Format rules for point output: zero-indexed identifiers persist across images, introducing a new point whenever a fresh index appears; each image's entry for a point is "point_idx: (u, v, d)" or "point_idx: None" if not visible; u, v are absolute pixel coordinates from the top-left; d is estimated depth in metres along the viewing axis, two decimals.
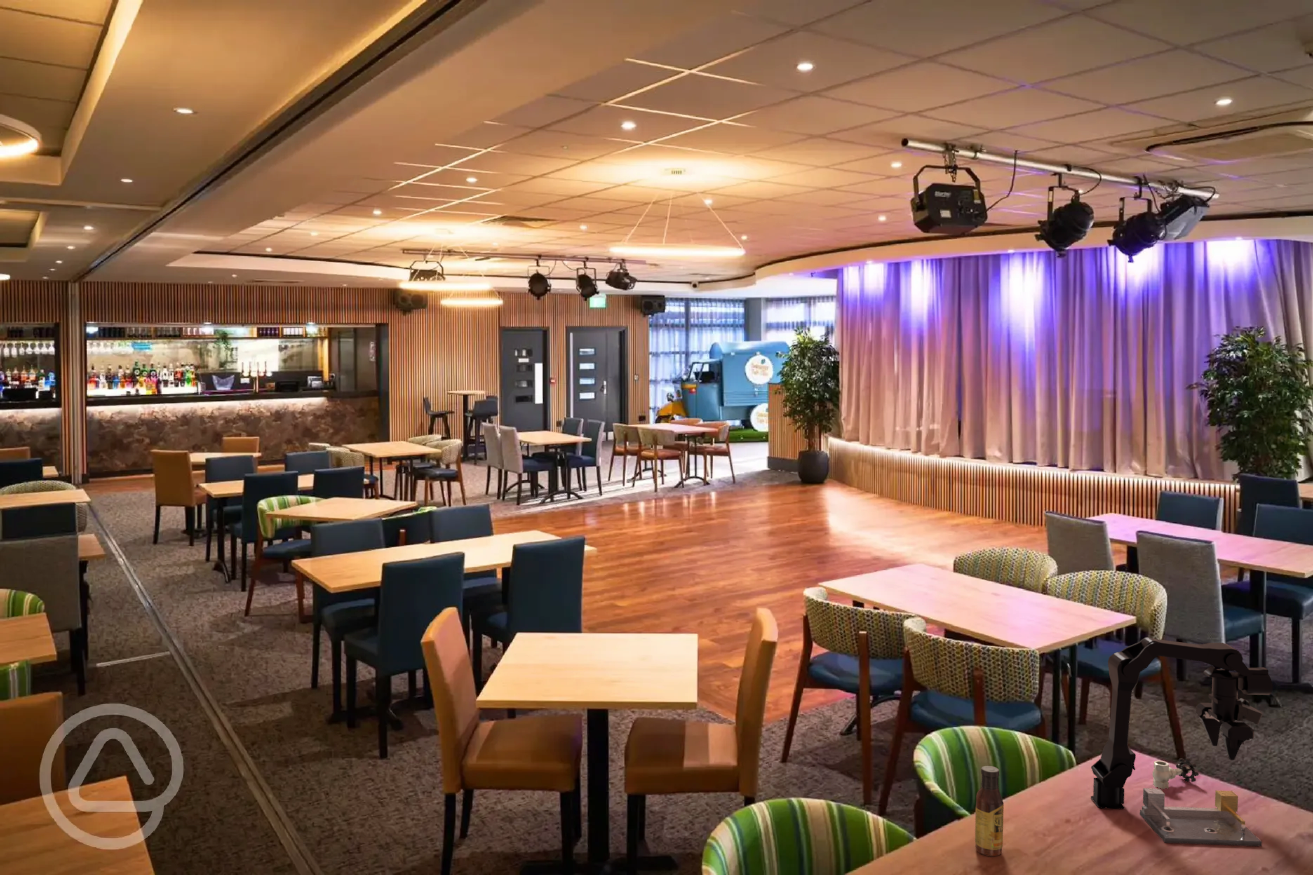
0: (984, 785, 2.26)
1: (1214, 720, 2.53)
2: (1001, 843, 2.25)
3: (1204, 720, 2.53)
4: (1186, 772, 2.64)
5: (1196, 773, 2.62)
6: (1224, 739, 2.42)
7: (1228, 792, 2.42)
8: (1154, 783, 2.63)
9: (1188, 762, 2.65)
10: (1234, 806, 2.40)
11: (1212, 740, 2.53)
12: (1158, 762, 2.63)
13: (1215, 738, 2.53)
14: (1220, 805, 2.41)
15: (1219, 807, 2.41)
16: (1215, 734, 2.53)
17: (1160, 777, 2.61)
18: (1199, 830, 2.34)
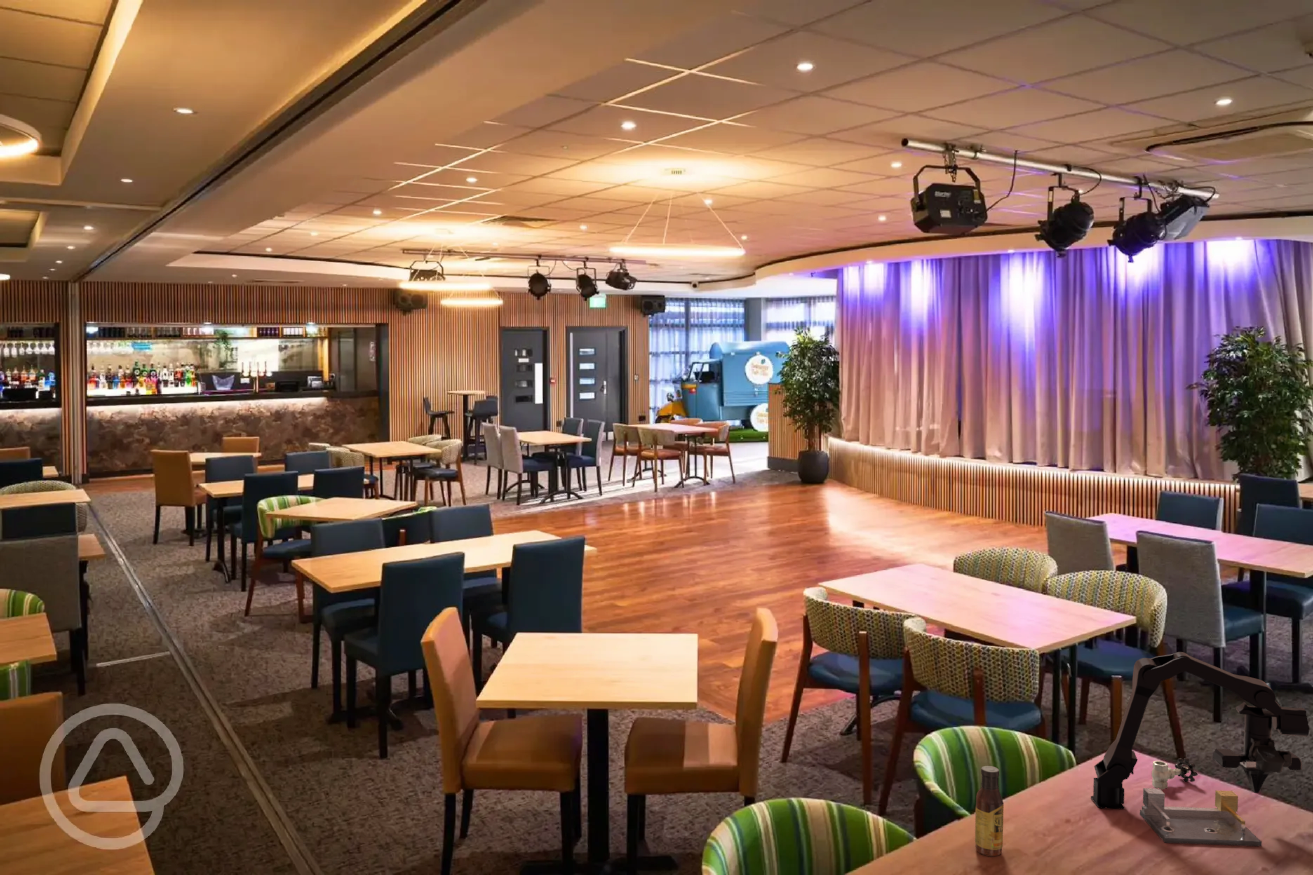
0: (984, 785, 2.26)
1: (1259, 766, 2.40)
2: (1001, 843, 2.25)
3: None
4: (1185, 772, 2.64)
5: (1195, 773, 2.62)
6: None
7: (1228, 792, 2.42)
8: (1153, 783, 2.63)
9: (1187, 762, 2.65)
10: (1234, 806, 2.40)
11: None
12: (1157, 762, 2.63)
13: None
14: (1220, 805, 2.41)
15: (1219, 807, 2.41)
16: (1257, 780, 2.41)
17: (1159, 777, 2.60)
18: (1199, 830, 2.34)
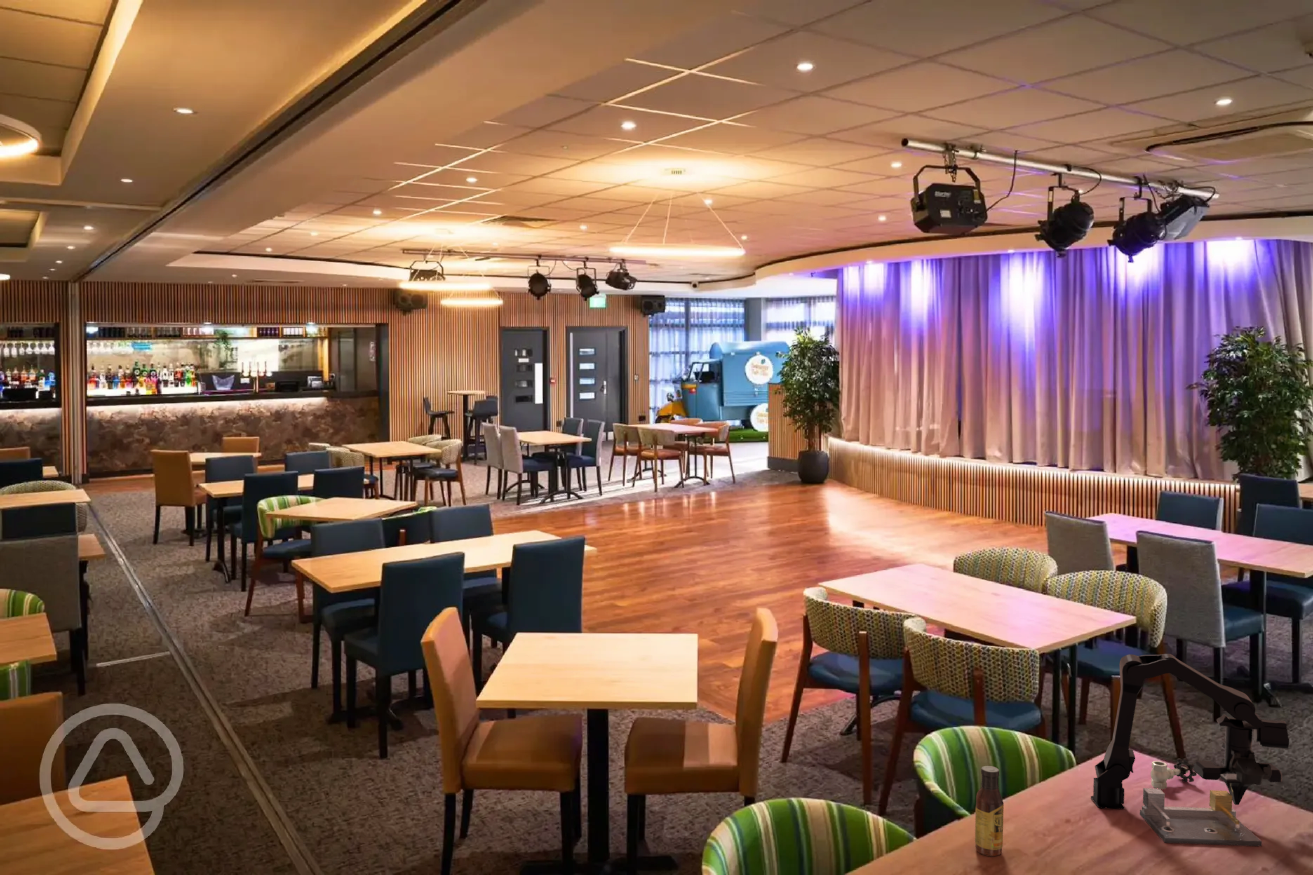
0: (984, 785, 2.26)
1: (1239, 778, 2.41)
2: (1001, 843, 2.25)
3: None
4: (1184, 772, 2.64)
5: (1194, 773, 2.62)
6: None
7: (1222, 792, 2.42)
8: (1152, 783, 2.62)
9: (1186, 762, 2.65)
10: (1229, 806, 2.40)
11: None
12: (1156, 762, 2.63)
13: None
14: (1214, 805, 2.41)
15: (1213, 807, 2.41)
16: None
17: (1158, 778, 2.60)
18: (1199, 830, 2.34)
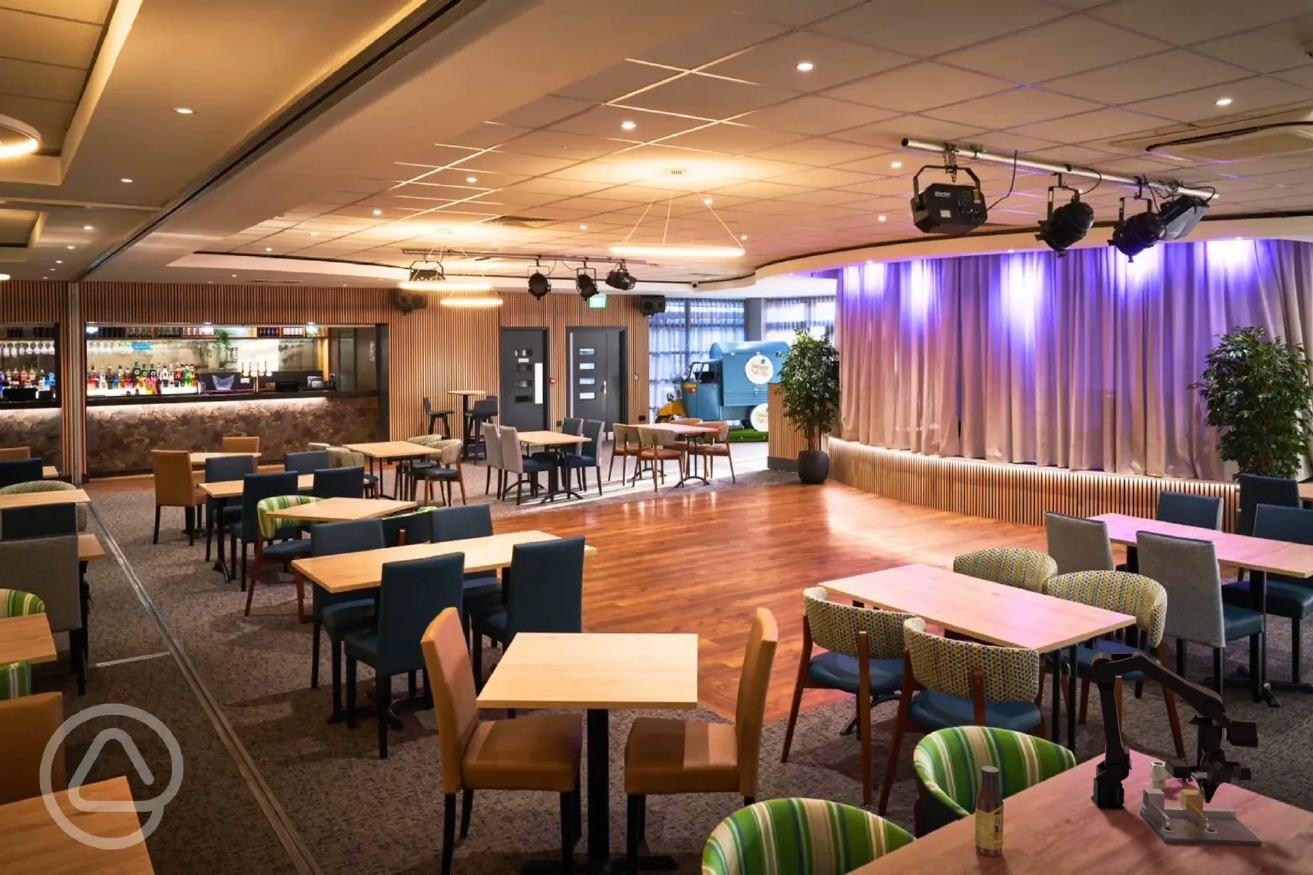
0: (984, 785, 2.26)
1: None
2: (1001, 843, 2.25)
3: None
4: None
5: None
6: None
7: (1194, 791, 2.43)
8: (1151, 783, 2.62)
9: (1185, 762, 2.65)
10: (1200, 805, 2.41)
11: None
12: (1155, 762, 2.63)
13: None
14: (1185, 804, 2.41)
15: (1185, 806, 2.42)
16: None
17: (1157, 778, 2.60)
18: (1199, 830, 2.34)
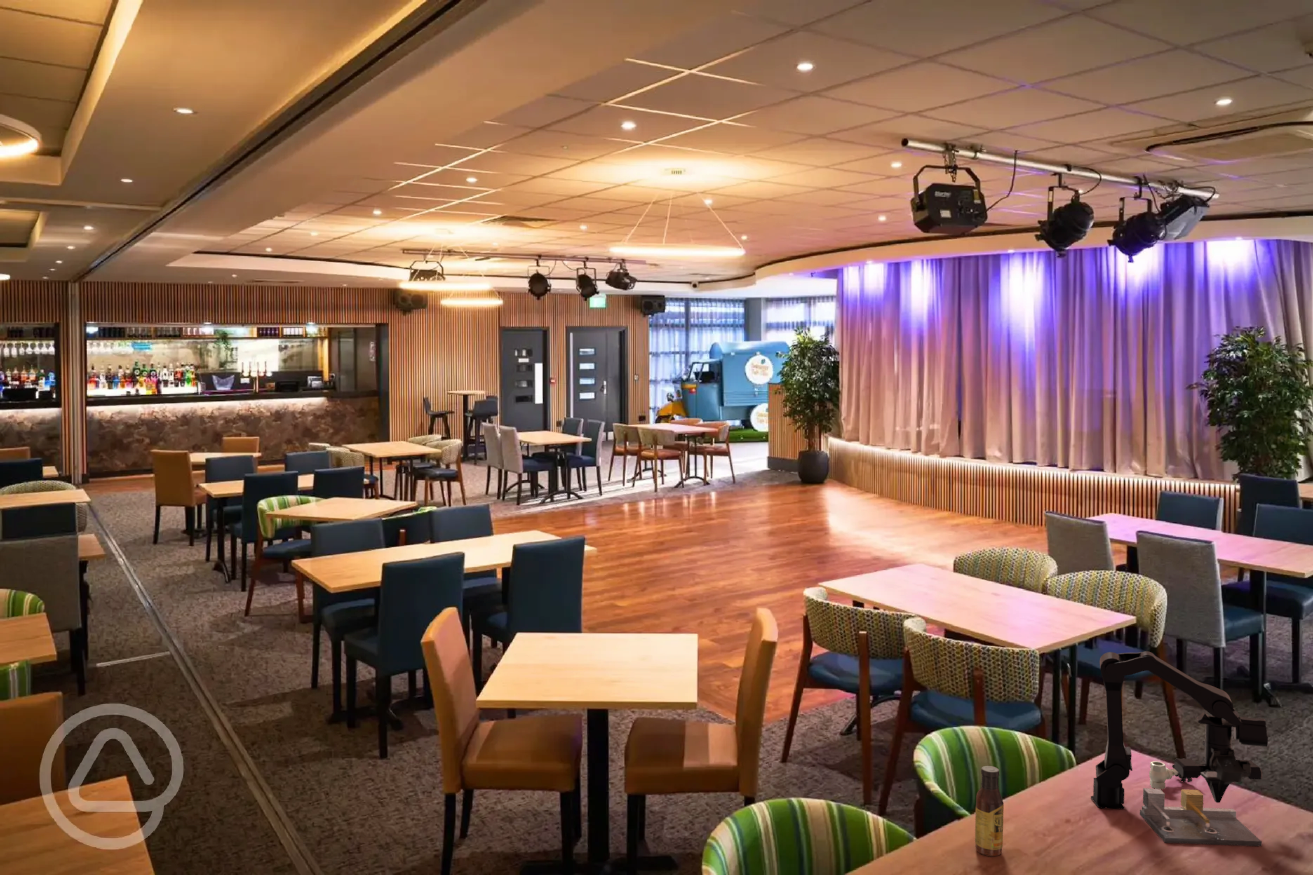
0: (984, 785, 2.26)
1: None
2: (1001, 843, 2.25)
3: None
4: None
5: None
6: None
7: (1194, 791, 2.43)
8: (1151, 784, 2.62)
9: None
10: (1200, 805, 2.41)
11: None
12: (1155, 762, 2.63)
13: None
14: (1185, 804, 2.41)
15: (1185, 806, 2.42)
16: (1218, 790, 2.41)
17: (1157, 778, 2.60)
18: (1199, 830, 2.34)
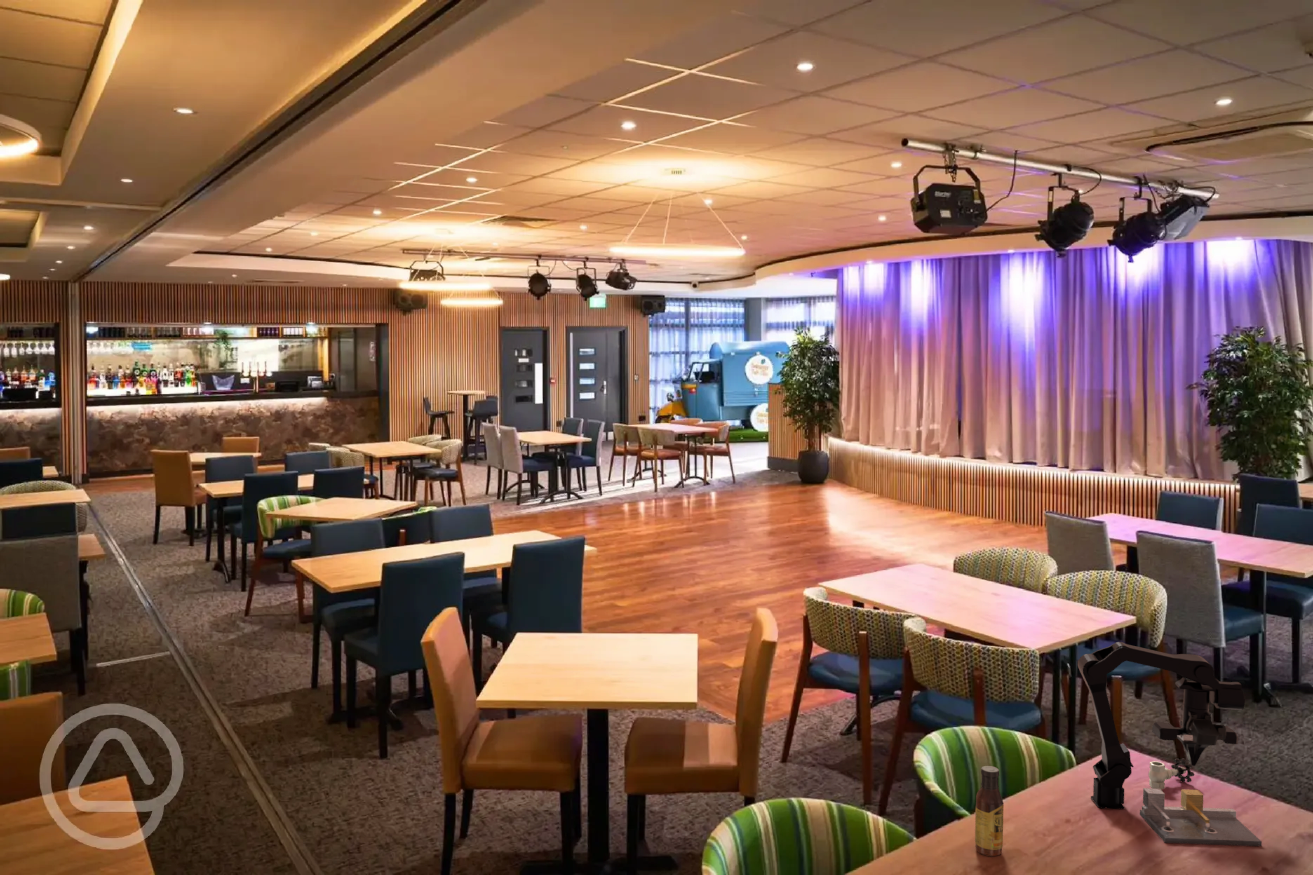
0: (984, 785, 2.26)
1: None
2: (1001, 843, 2.25)
3: (1192, 736, 2.49)
4: (1182, 772, 2.64)
5: (1192, 773, 2.62)
6: None
7: (1194, 791, 2.43)
8: (1150, 784, 2.62)
9: (1183, 762, 2.65)
10: (1200, 805, 2.41)
11: None
12: (1154, 763, 2.63)
13: None
14: (1185, 804, 2.41)
15: (1185, 806, 2.42)
16: (1194, 754, 2.46)
17: (1156, 778, 2.60)
18: (1199, 830, 2.34)
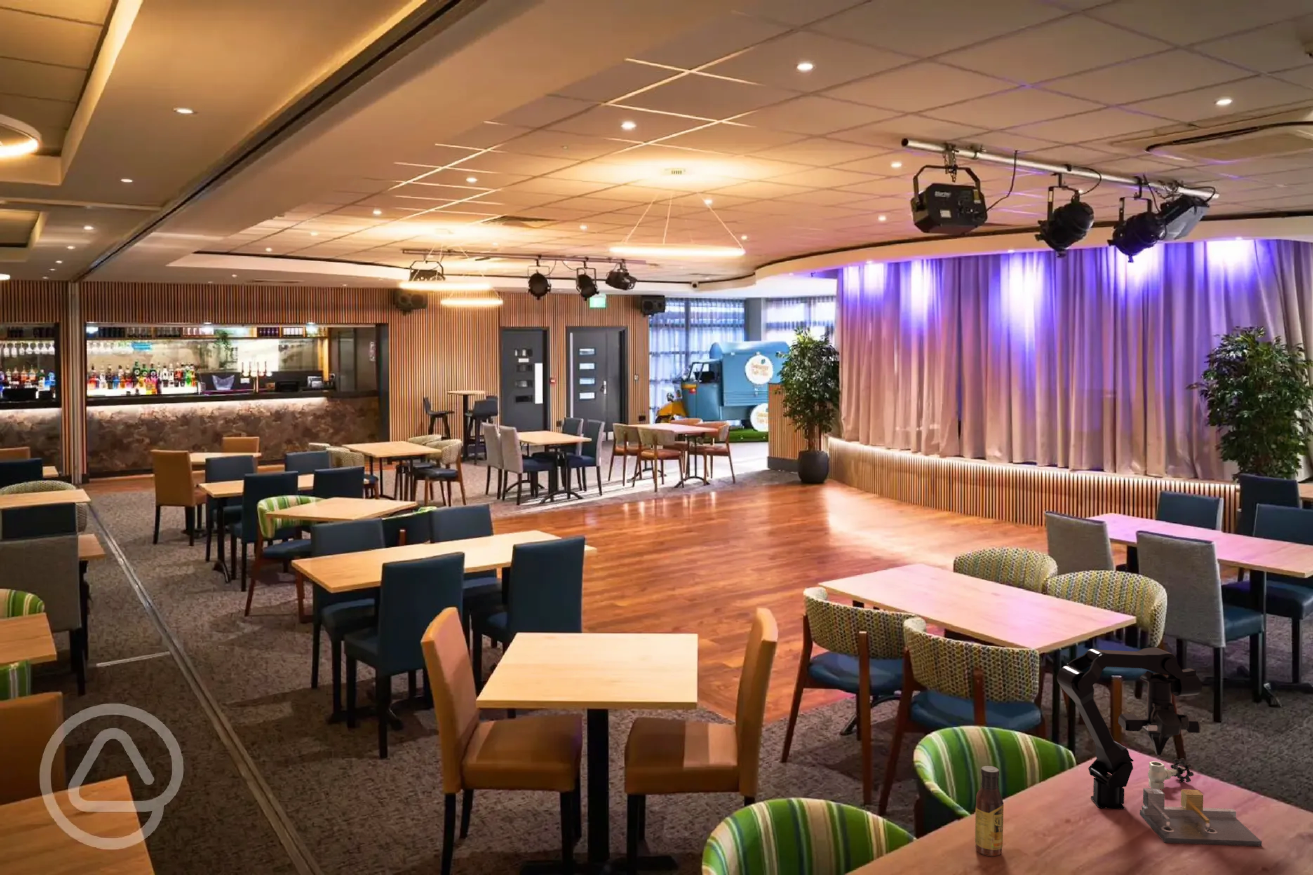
0: (984, 785, 2.26)
1: None
2: (1001, 843, 2.25)
3: (1157, 727, 2.56)
4: (1181, 772, 2.64)
5: (1191, 773, 2.62)
6: None
7: (1194, 791, 2.43)
8: (1150, 784, 2.62)
9: (1183, 762, 2.65)
10: (1200, 805, 2.41)
11: None
12: (1153, 763, 2.63)
13: None
14: (1185, 804, 2.41)
15: (1185, 806, 2.42)
16: (1159, 743, 2.53)
17: (1156, 778, 2.60)
18: (1199, 830, 2.34)
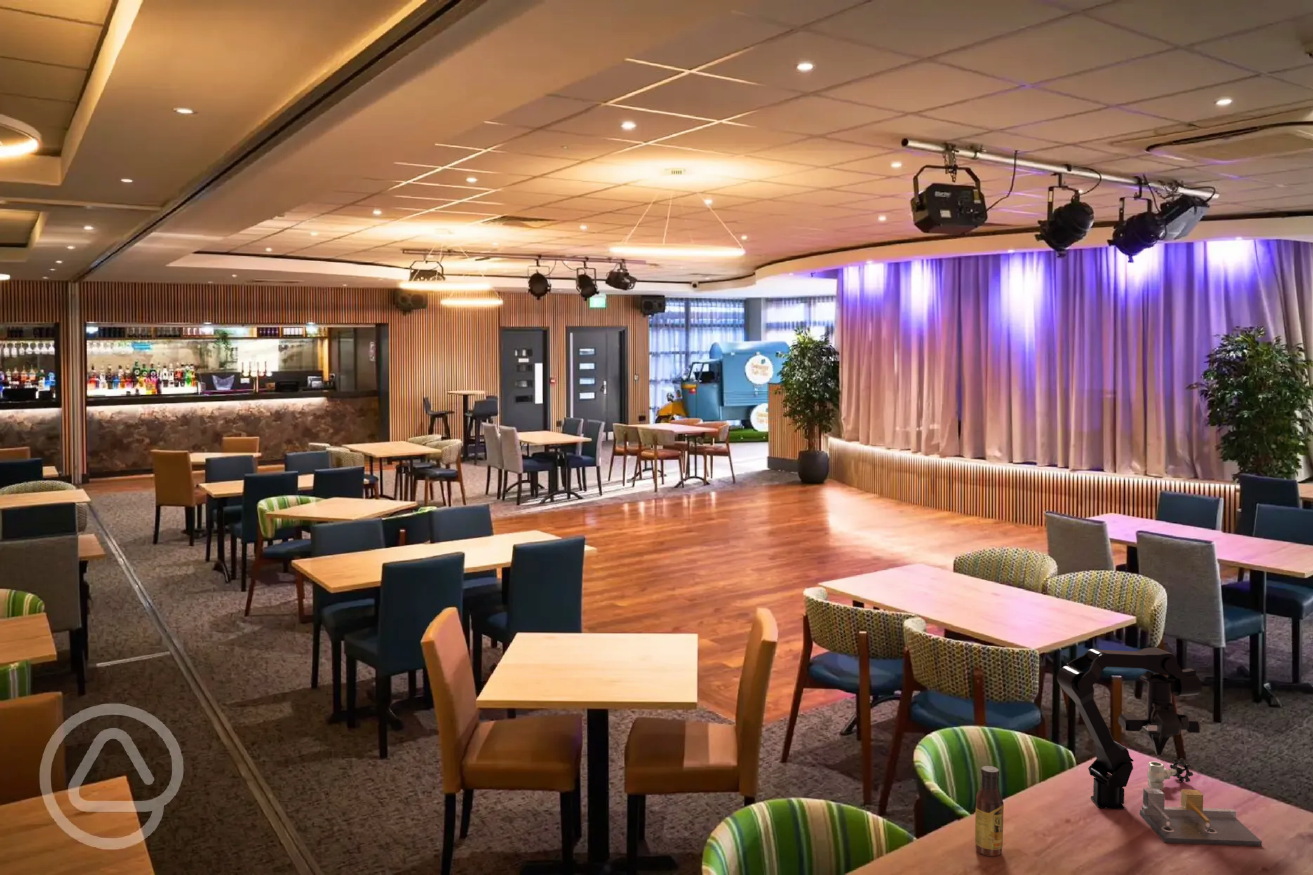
0: (984, 785, 2.26)
1: None
2: (1001, 843, 2.25)
3: (1157, 727, 2.56)
4: (1180, 772, 2.64)
5: (1190, 773, 2.62)
6: None
7: (1194, 791, 2.43)
8: (1149, 784, 2.62)
9: (1182, 762, 2.65)
10: (1200, 805, 2.41)
11: None
12: (1153, 763, 2.63)
13: None
14: (1185, 804, 2.41)
15: (1185, 806, 2.42)
16: (1159, 743, 2.53)
17: (1155, 778, 2.60)
18: (1199, 830, 2.34)
